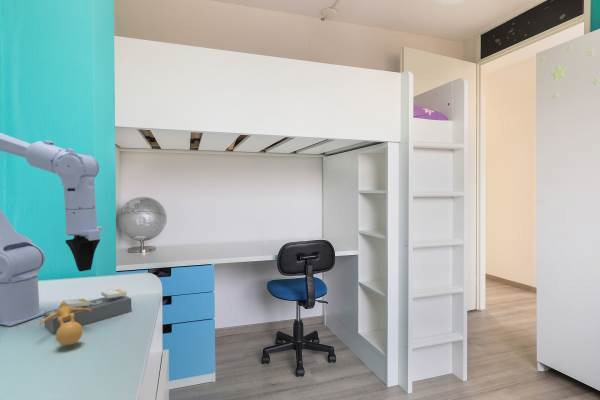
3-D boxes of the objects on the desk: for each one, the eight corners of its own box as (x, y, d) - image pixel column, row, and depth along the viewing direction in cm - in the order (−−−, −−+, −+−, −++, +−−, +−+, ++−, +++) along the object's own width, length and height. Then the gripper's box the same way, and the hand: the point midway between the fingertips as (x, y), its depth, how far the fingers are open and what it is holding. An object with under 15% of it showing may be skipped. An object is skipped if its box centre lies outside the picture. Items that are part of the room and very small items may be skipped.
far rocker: (107, 300, 75) (107, 294, 75) (101, 297, 77) (101, 291, 78) (126, 297, 78) (126, 291, 78) (119, 294, 81) (119, 289, 81)
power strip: (53, 334, 67) (52, 317, 66) (44, 326, 70) (44, 310, 70) (131, 311, 78) (131, 297, 78) (120, 305, 82) (119, 292, 82)
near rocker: (67, 309, 69) (68, 303, 69) (61, 306, 72) (62, 300, 72) (89, 307, 72) (90, 301, 72) (83, 304, 75) (84, 298, 75)
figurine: (40, 343, 56) (34, 294, 64) (45, 366, 59) (38, 317, 67) (97, 325, 61) (85, 282, 69) (99, 347, 64) (87, 303, 72)
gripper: (113, 207, 73) (117, 270, 73) (89, 206, 82) (92, 262, 83) (76, 210, 67) (80, 278, 68) (54, 209, 77) (58, 268, 77)
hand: (84, 270), depth 75 cm, fingers closed
